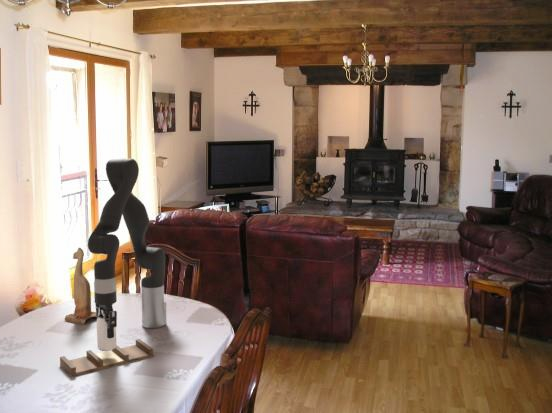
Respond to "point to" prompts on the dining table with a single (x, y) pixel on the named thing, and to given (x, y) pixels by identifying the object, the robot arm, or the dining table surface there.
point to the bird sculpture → (80, 293)
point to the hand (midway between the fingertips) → (106, 334)
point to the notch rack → (106, 358)
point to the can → (104, 336)
